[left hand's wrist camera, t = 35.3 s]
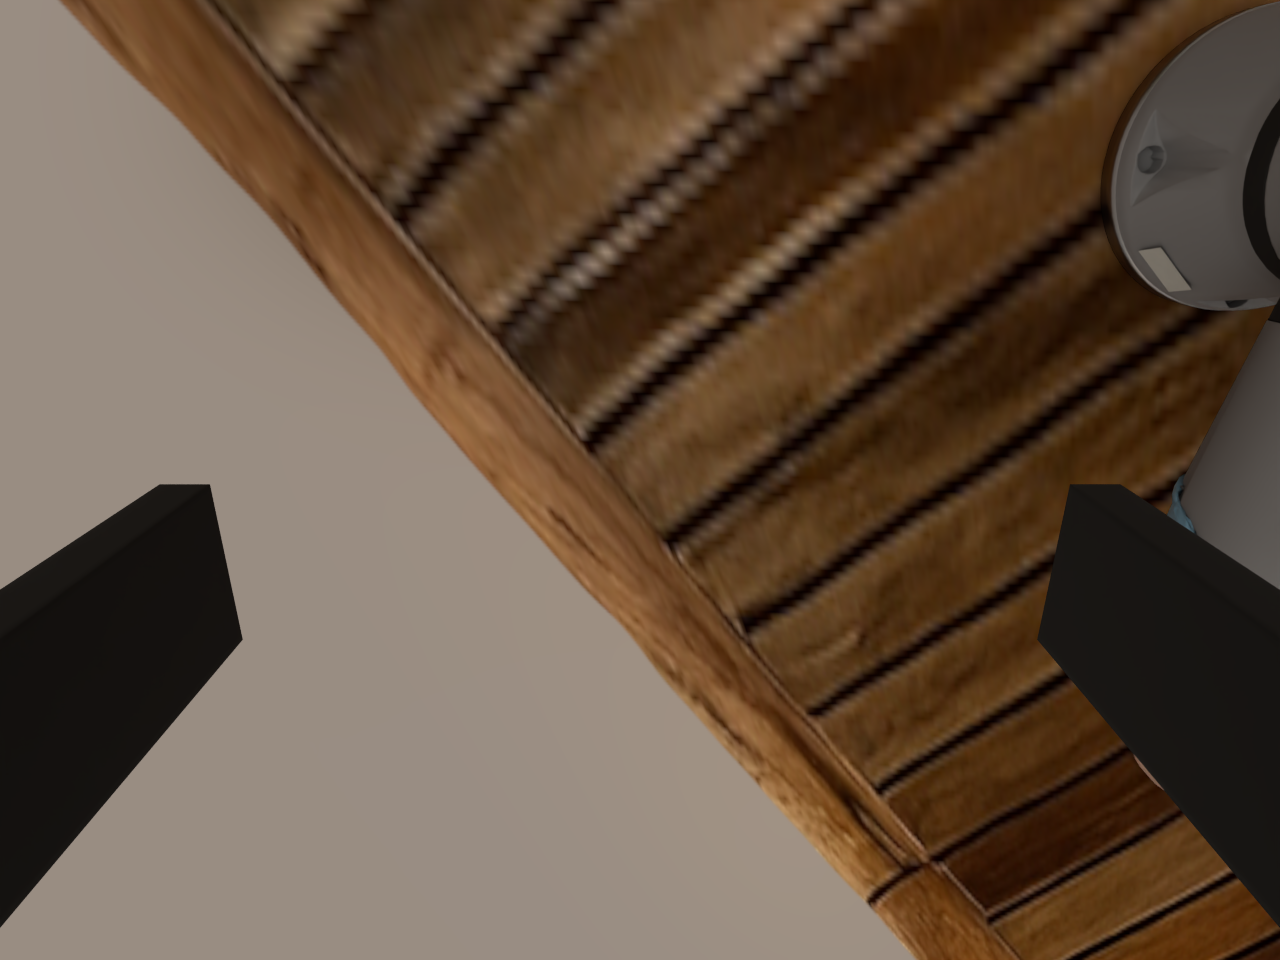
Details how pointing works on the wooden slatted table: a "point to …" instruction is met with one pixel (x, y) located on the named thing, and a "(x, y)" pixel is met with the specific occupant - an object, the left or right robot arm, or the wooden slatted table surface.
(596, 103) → the wooden slatted table surface
